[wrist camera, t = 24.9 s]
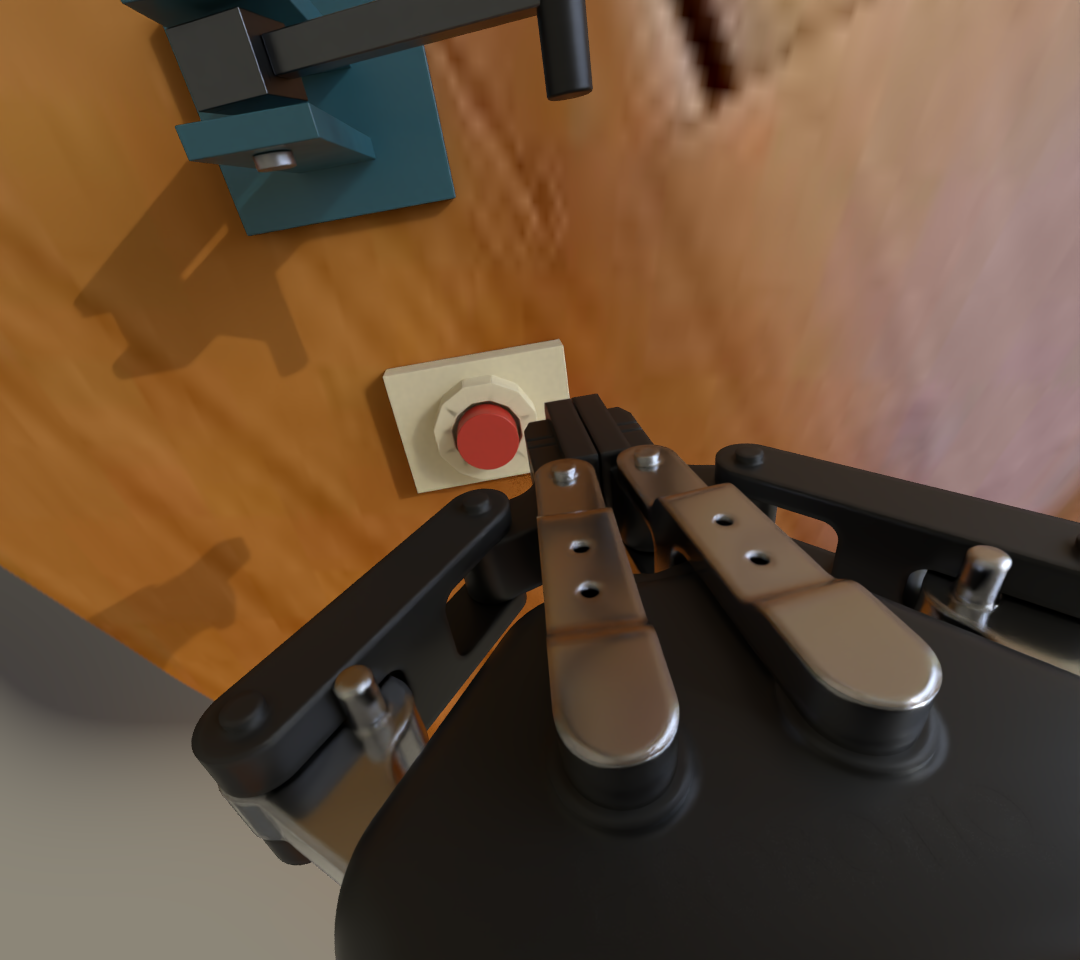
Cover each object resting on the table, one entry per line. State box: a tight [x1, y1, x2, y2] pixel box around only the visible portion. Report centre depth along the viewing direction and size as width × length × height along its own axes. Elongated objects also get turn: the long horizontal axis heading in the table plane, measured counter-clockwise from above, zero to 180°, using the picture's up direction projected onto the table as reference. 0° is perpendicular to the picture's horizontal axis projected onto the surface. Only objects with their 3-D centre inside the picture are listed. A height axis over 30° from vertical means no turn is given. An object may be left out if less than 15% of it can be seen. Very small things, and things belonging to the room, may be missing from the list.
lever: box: [166, 0, 593, 115], centre depth 16 cm, size 13×6×2 cm, turn 99°
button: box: [457, 404, 519, 470], centre depth 34 cm, size 4×4×2 cm
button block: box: [383, 339, 569, 493], centre depth 36 cm, size 12×9×4 cm
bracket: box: [121, 0, 456, 236], centre depth 22 cm, size 12×10×14 cm
